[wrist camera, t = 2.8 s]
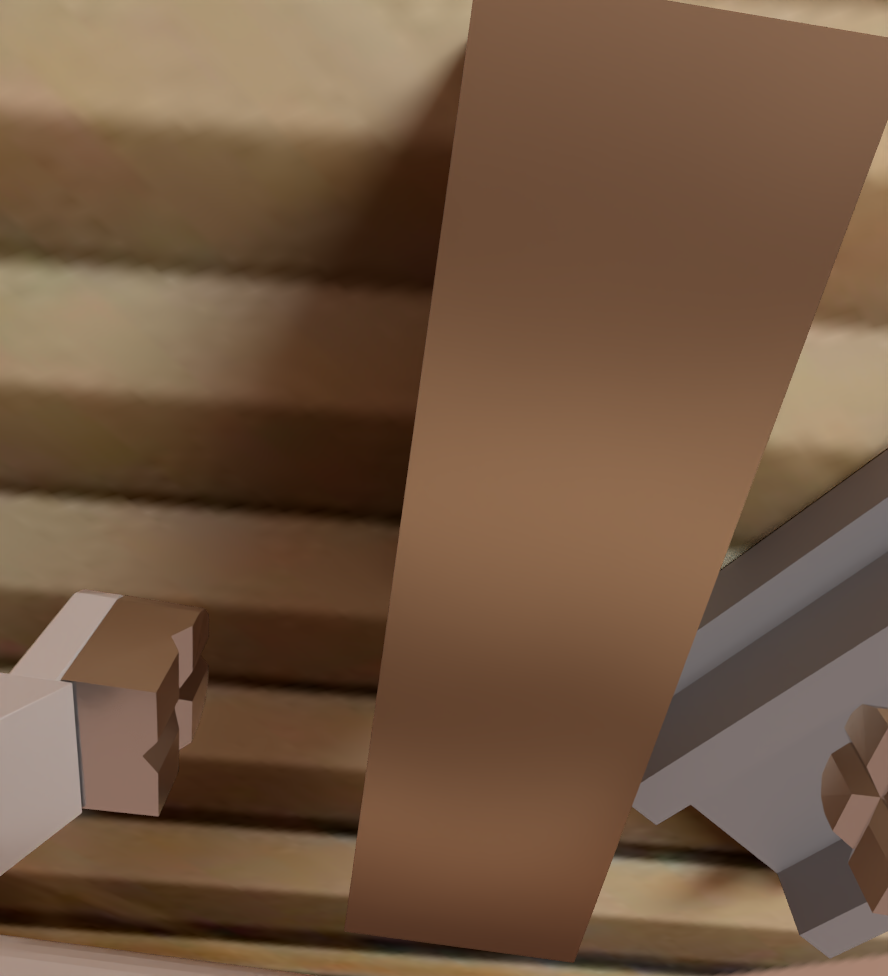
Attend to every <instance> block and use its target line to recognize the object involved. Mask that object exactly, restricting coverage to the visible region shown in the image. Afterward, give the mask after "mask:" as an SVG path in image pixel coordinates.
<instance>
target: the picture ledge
mask: <svg viewBox="0 0 888 976" xmlns="http://www.w3.org/2000/svg"><path fill="white" fill-rule="evenodd" d="M862 704H866V705H873V706H880V707H887V708H888V449H887V450H886V451H885V452H883V453H882V454H880V455H879V456H878V457H876V458H875V459H874V460H872V461H871V462H869V463H868V464H867V465H865V466H864V467H863V468H861V469H860V470H858V471H857V472H856V473H854V474H853V475H852V476H850V477H849V478H847V479H846V480H845V481H843V482H842V483H841V484H839V485H838V486H836V487H835V488H834V489H832V490H831V491H830V492H828V493H827V494H825V495H824V496H823V497H821V498H820V499H819V500H817V501H816V502H814V503H813V504H812V505H810V506H809V507H808V508H806V509H805V510H803V511H802V512H801V513H799V514H798V515H797V516H795V517H794V518H792V519H791V520H790V521H788V522H787V523H785V524H784V525H783V526H781V527H780V528H779V529H777V530H776V531H774V532H773V533H772V534H770V535H769V536H768V537H766V538H765V539H763V540H762V541H761V542H759V543H758V544H757V545H755V546H754V547H752V548H751V549H750V550H748V551H747V552H746V553H744V554H743V555H741V556H740V557H739V558H737V559H736V560H735V561H733V562H732V563H730V564H729V565H728V566H726V567H725V568H724V569H722V570H721V571H719V574H718V577H717V579H716V582H715V585H714V587H713V590H712V593H711V595H710V598H709V601H708V603H707V606H706V609H705V611H704V614H703V617H702V620H701V622H700V625H699V628H698V630H697V633H696V636H695V638H694V641H693V644H692V646H691V649H690V652H689V654H688V657H687V660H686V663H685V665H684V668H683V671H682V673H681V676H680V679H679V681H678V684H677V687H676V689H675V692H674V695H673V697H672V700H671V703H670V705H669V708H668V711H667V714H666V716H665V719H664V722H663V724H662V727H661V730H660V732H659V735H658V738H657V740H656V743H655V746H654V748H653V751H652V754H651V757H650V759H649V762H648V765H647V767H646V770H645V773H644V775H643V778H642V781H641V783H640V786H639V789H638V791H637V794H636V797H635V799H634V802H633V805H632V807H633V808H635V809H636V810H637V811H639V812H640V813H641V814H642V815H644V816H645V817H646V818H648V819H649V820H650V821H652V822H653V823H654V824H656V825H658V824H659V823H661V822H663V821H664V820H666V819H668V818H669V817H671V816H672V815H674V814H676V813H677V812H679V811H681V810H682V809H684V808H686V807H687V806H689V805H692V806H693V807H694V808H696V809H697V810H698V811H699V812H701V813H702V814H703V815H704V816H706V817H707V818H708V819H709V820H711V821H712V822H713V823H714V824H716V825H717V826H718V827H719V828H721V829H722V830H723V831H724V832H726V833H727V834H728V835H730V836H731V837H732V838H733V839H735V840H736V841H737V842H738V843H740V844H741V845H742V846H743V847H745V848H746V849H747V850H748V851H750V852H751V853H752V854H753V855H755V856H756V857H757V858H758V859H760V860H761V861H762V862H763V863H765V864H766V865H767V866H769V867H770V868H771V869H772V870H774V871H775V872H776V873H777V874H778V877H779V879H780V882H781V885H782V888H783V891H784V893H785V896H786V899H787V902H788V904H789V907H790V910H791V913H792V915H793V918H794V921H795V924H796V926H797V929H798V932H799V935H800V936H801V937H803V938H804V939H805V940H807V941H808V942H809V943H810V944H812V945H813V946H814V947H816V948H817V949H818V950H820V951H821V952H822V953H823V954H825V955H826V956H827V957H829V958H832V957H834V956H836V955H838V954H841V953H843V952H845V951H847V950H849V949H851V948H853V947H855V946H857V945H860V944H862V943H864V942H866V941H868V940H870V939H872V938H874V937H876V936H878V935H881V934H883V933H885V932H887V931H888V916H887V915H881V914H875V913H872V911H871V909H870V907H869V905H868V903H867V901H866V899H865V897H864V895H863V893H862V891H861V889H860V887H859V884H858V882H857V880H856V878H855V876H854V874H853V872H852V870H851V868H850V866H849V864H848V861H849V858H850V855H851V852H852V848H851V847H850V846H849V845H848V844H847V843H846V842H844V841H843V840H842V839H841V838H840V837H839V836H838V835H836V834H835V833H834V832H833V831H832V829H831V827H830V824H829V822H828V820H827V818H826V816H825V813H824V809H823V804H822V800H821V783H822V773H823V771H824V769H825V766H826V764H827V762H828V760H829V757H830V755H831V754H832V753H833V752H835V751H837V750H838V749H840V748H841V747H843V746H845V745H846V744H848V743H849V740H848V737H847V734H846V732H845V729H844V727H845V725H846V723H847V721H848V719H849V717H850V716H851V714H852V712H853V711H854V710H856V709H857V708H858V707H859V706H861V705H862Z"/></svg>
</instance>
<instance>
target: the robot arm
mask: <svg viewBox="0 0 888 976" xmlns="http://www.w3.org/2000/svg"><path fill="white" fill-rule="evenodd" d="M208 638H209V614H208V612H207V611H206V609H205V608H200V607H194V606H188V605H182V604H176V603H170V602H164V601H158V600H152V599H146V598H140V597H134V596H128V595H125V596H122V595H120V594H113V593H107V592H100V591H94V590H87V589H83V590H81V591H78V592H76V593H74V594H73V595H72V596H71V597H70V599H69V600H68V601H67V602H66V604H65V605H64V606H63V607H62V609H61V610H60V611H59V612H58V613H57V615H56V616H55V617H54V618H53V620H52V621H51V622H50V623H49V625H48V626H47V627H46V628H45V629H44V631H43V632H42V633H41V634H40V636H39V637H38V638H37V639H36V641H35V642H34V643H33V644H32V645H31V647H30V648H29V649H28V650H27V652H26V653H25V654H24V655H23V657H22V658H21V659H20V660H19V661H18V663H17V664H16V665H15V666H14V668H13V669H12V670H11V671H10V673H9V674H6V673H0V876H1V875H2V874H4V873H5V872H6V871H7V870H9V869H10V868H11V867H13V866H14V865H15V864H16V863H18V862H19V861H20V860H22V859H23V858H24V857H26V856H27V855H28V854H29V853H31V852H32V851H33V850H35V849H36V848H37V847H38V846H40V845H41V844H42V843H44V842H45V841H46V840H47V839H49V838H50V837H51V836H53V835H54V834H55V833H57V832H58V831H59V830H60V829H62V828H63V827H64V826H66V825H67V824H68V823H69V822H71V821H72V820H73V819H75V818H76V817H77V816H78V815H80V814H81V813H82V808H84V809H93V810H103V811H112V812H122V813H131V814H140V815H150V816H159V814H160V812H161V810H162V808H163V805H164V803H165V801H166V799H167V796H168V794H169V792H170V790H171V787H172V785H173V783H174V781H175V779H176V776H177V774H178V772H179V750H180V749H182V748H183V747H185V746H186V745H188V744H189V743H191V742H192V740H193V737H194V735H195V733H196V730H197V728H198V725H199V723H200V719H201V715H202V712H203V708H204V704H205V700H206V693H207V686H208V668H209V666H208V664H207V663H206V662H205V660H204V659H203V658H202V656H201V653H202V651H203V649H204V646H205V644H206V642H207V640H208ZM844 729H845V732H846V734H847V737H848V740H849V743H848V744H846V745H845V746H843V747H841V748H840V749H838V750H837V751H835V752H833V753H832V754H831V755H830V757H829V760H828V762H827V764H826V766H825V769H824V771H823V773H822V783H821V800H822V804H823V809H824V813H825V816H826V818H827V820H828V822H829V824H830V827H831V829H832V831H833V832H834V833H835V834H836V835H838V836H839V837H840V838H841V839H842V840H843V841H844V842H846V843H847V844H848V845H849V846H850V847H851V848H852V852H851V855H850V858H849V861H848V864H849V866H850V868H851V870H852V872H853V874H854V876H855V878H856V880H857V882H858V884H859V887H860V889H861V891H862V893H863V895H864V897H865V899H866V901H867V903H868V905H869V907H870V909H871V911H872V913H875V914H881V915H887V916H888V708H887V707H880V706H873V705H866V704H862V705H861V706H859V707H858V708H857V709H856V710H854V711H853V712H852V714H851V716H850V717H849V719H848V721H847V723H846V725H845V727H844ZM0 976H317V975H309V974H301V973H293V972H286V971H278V970H270V969H262V968H255V967H247V966H239V965H232V964H224V963H216V962H208V961H201V960H193V959H185V958H177V957H170V956H162V955H154V954H146V953H139V952H131V951H123V950H116V949H108V948H100V947H92V946H85V945H77V944H69V943H61V942H54V941H46V940H38V939H30V938H23V937H15V936H7V935H0Z"/></svg>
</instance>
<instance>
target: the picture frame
mask: <svg viewBox="0 0 888 976" xmlns="http://www.w3.org/2000/svg"><path fill="white" fill-rule="evenodd" d="M887 120H888V37H882V36H876V35H870V34H864V33H858V32H852V31H846V30H840V29H834V28H828V27H822V26H816V25H810V24H804V23H798V22H792V21H786V20H780V19H774V18H768V17H763V16H757V15H751V14H745V13H739V12H733V11H727V10H721V9H715V8H709V7H703V6H697V5H691V4H685V3H679V2H673V1H667V0H473V4H472V11H471V18H470V26H469V33H468V40H467V47H466V55H465V62H464V69H463V76H462V83H461V91H460V98H459V105H458V112H457V120H456V127H455V134H454V141H453V148H452V156H451V163H450V170H449V177H448V185H447V192H446V199H445V206H444V214H443V221H442V228H441V235H440V242H439V250H438V257H437V264H436V271H435V279H434V286H433V293H432V300H431V307H430V315H429V322H428V329H427V336H426V344H425V351H424V358H423V365H422V372H421V380H420V387H419V394H418V401H417V409H416V416H415V423H414V430H413V438H412V445H411V452H410V459H409V466H408V474H407V481H406V488H405V495H404V503H403V510H402V517H401V524H400V531H399V539H398V546H397V553H396V560H395V568H394V575H393V582H392V589H391V596H390V604H389V611H388V618H387V625H386V633H385V640H384V647H383V654H382V662H381V669H380V676H379V683H378V690H377V698H376V705H375V712H374V719H373V727H372V734H371V741H370V748H369V755H368V763H367V770H366V777H365V784H364V792H363V799H362V806H361V813H360V820H359V828H358V835H357V842H356V849H355V857H354V864H353V871H352V878H351V886H350V893H349V900H348V907H347V914H346V922H345V929H344V931H346V932H353V933H361V934H368V935H375V936H383V937H390V938H397V939H405V940H412V941H419V942H427V943H434V944H441V945H449V946H456V947H463V948H471V949H478V950H485V951H493V952H500V953H507V954H515V955H522V956H529V957H537V958H544V959H551V960H559V961H566V962H573V963H574V961H575V958H576V955H577V953H578V950H579V947H580V945H581V942H582V939H583V936H584V934H585V931H586V928H587V926H588V923H589V920H590V918H591V915H592V912H593V910H594V907H595V904H596V902H597V899H598V896H599V893H600V891H601V888H602V885H603V883H604V880H605V877H606V875H607V872H608V869H609V867H610V864H611V861H612V859H613V856H614V853H615V851H616V848H617V845H618V842H619V840H620V837H621V834H622V832H623V829H624V826H625V824H626V821H627V818H628V816H629V813H630V810H631V808H632V805H633V802H634V799H635V797H636V794H637V791H638V789H639V786H640V783H641V781H642V778H643V775H644V773H645V770H646V767H647V765H648V762H649V759H650V757H651V754H652V751H653V748H654V746H655V743H656V740H657V738H658V735H659V732H660V730H661V727H662V724H663V722H664V719H665V716H666V714H667V711H668V708H669V705H670V703H671V700H672V697H673V695H674V692H675V689H676V687H677V684H678V681H679V679H680V676H681V673H682V671H683V668H684V665H685V663H686V660H687V657H688V654H689V652H690V649H691V646H692V644H693V641H694V638H695V636H696V633H697V630H698V628H699V625H700V622H701V620H702V617H703V614H704V611H705V609H706V606H707V603H708V601H709V598H710V595H711V593H712V590H713V587H714V585H715V582H716V579H717V577H718V574H719V571H720V569H721V566H722V563H723V560H724V558H725V555H726V552H727V550H728V547H729V544H730V542H731V539H732V536H733V534H734V531H735V528H736V526H737V523H738V520H739V518H740V515H741V512H742V509H743V507H744V504H745V501H746V499H747V496H748V493H749V491H750V488H751V485H752V483H753V480H754V477H755V475H756V472H757V469H758V466H759V464H760V461H761V458H762V456H763V453H764V450H765V448H766V445H767V442H768V440H769V437H770V434H771V432H772V429H773V426H774V424H775V421H776V418H777V415H778V413H779V410H780V407H781V405H782V402H783V399H784V397H785V394H786V391H787V389H788V386H789V383H790V381H791V378H792V375H793V372H794V370H795V367H796V364H797V362H798V359H799V356H800V354H801V351H802V348H803V346H804V343H805V340H806V338H807V335H808V332H809V330H810V327H811V324H812V321H813V319H814V316H815V313H816V311H817V308H818V305H819V303H820V300H821V297H822V295H823V292H824V289H825V287H826V284H827V281H828V278H829V276H830V273H831V270H832V268H833V265H834V262H835V260H836V257H837V254H838V252H839V249H840V246H841V244H842V241H843V238H844V236H845V233H846V230H847V227H848V225H849V222H850V219H851V217H852V214H853V211H854V209H855V206H856V203H857V201H858V198H859V195H860V193H861V190H862V187H863V184H864V182H865V179H866V176H867V174H868V171H869V168H870V166H871V163H872V160H873V158H874V155H875V152H876V150H877V147H878V144H879V142H880V139H881V136H882V133H883V131H884V128H885V125H886V123H887Z"/></svg>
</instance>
